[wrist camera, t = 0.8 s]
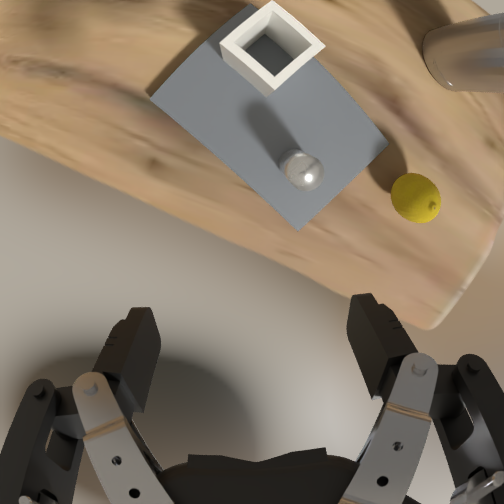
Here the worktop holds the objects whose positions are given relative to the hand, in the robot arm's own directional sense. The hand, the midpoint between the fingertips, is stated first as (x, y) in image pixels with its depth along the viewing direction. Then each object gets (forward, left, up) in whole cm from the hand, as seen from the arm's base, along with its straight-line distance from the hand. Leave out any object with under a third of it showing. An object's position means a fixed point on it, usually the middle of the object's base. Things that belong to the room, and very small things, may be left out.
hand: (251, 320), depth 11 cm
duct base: (-8, -3, -23) cm, 25 cm away
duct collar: (-12, -8, -21) cm, 26 cm away
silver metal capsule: (-6, +2, -21) cm, 22 cm away
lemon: (-14, +14, -23) cm, 30 cm away
